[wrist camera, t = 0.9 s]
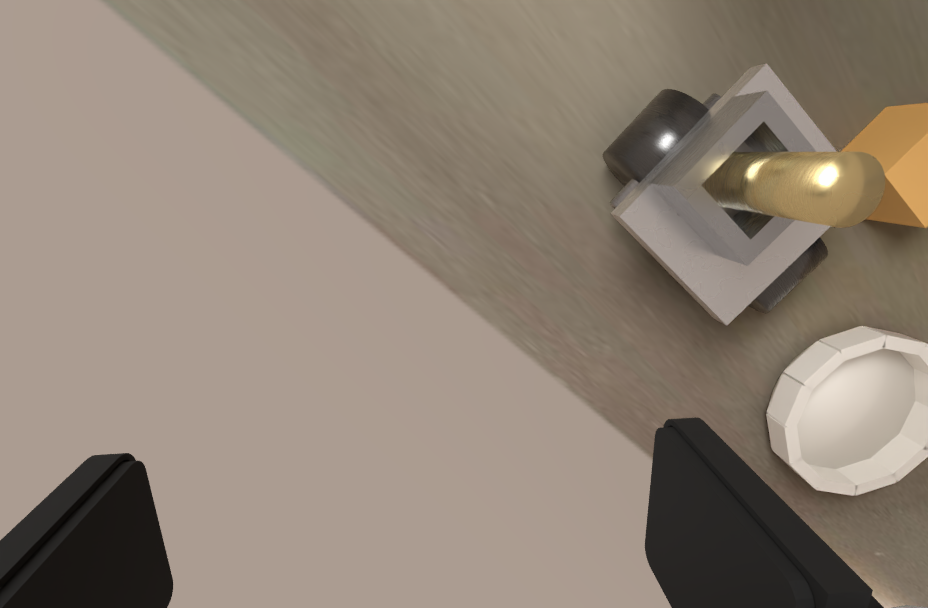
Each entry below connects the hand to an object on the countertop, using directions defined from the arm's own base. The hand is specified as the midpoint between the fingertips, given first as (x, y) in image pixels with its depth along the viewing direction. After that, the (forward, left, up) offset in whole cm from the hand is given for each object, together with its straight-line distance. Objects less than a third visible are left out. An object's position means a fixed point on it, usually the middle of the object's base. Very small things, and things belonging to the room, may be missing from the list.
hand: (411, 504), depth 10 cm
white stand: (-15, +13, -28) cm, 35 cm away
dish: (-13, +35, -28) cm, 47 cm away
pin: (-15, +10, -21) cm, 28 cm away
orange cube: (-26, +21, -28) cm, 44 cm away
